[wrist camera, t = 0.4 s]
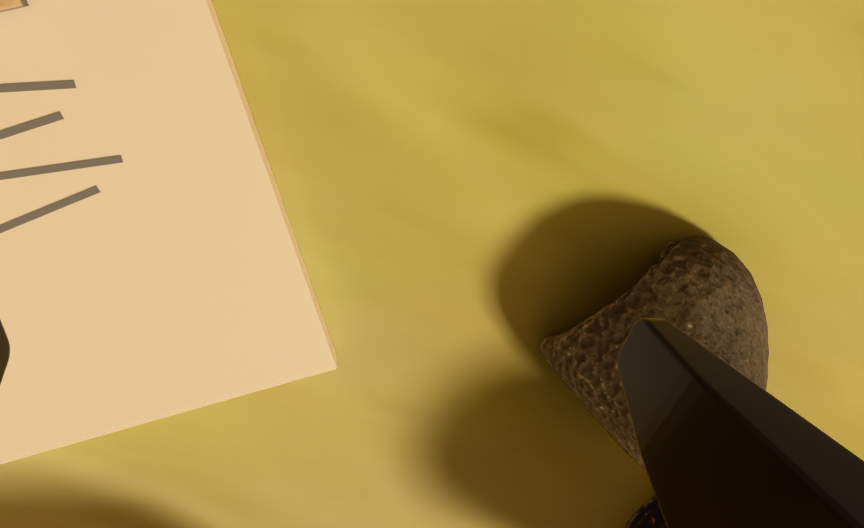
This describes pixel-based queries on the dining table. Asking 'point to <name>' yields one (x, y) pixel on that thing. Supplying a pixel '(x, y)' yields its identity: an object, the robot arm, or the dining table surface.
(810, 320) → the dining table surface
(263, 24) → the dining table surface
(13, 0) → the block
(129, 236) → the board
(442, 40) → the dining table surface
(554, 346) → the stone
